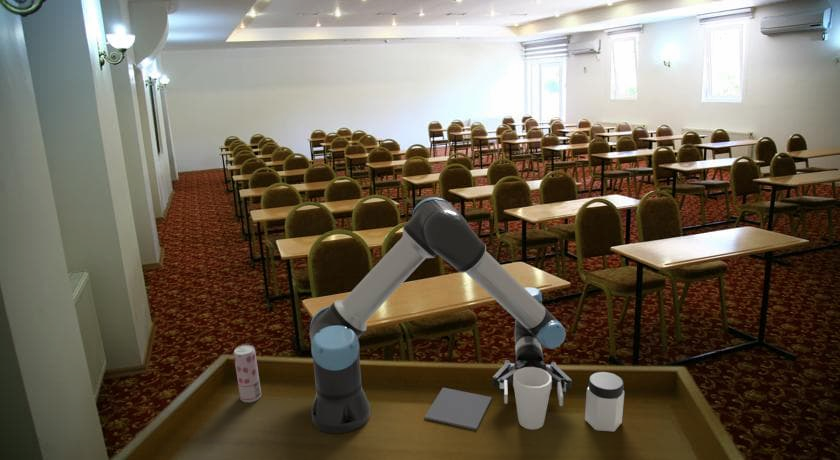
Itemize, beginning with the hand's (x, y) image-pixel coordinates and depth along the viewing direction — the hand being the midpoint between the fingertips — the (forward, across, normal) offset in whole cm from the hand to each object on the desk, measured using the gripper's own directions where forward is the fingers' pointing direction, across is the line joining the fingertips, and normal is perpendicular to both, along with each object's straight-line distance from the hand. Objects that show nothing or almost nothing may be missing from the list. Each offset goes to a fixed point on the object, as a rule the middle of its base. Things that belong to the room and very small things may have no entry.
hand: (533, 400), depth 152 cm
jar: (-2, -18, -7) cm, 19 cm away
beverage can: (-6, +77, -7) cm, 77 cm away
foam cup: (-1, 0, -7) cm, 7 cm away
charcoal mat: (-5, +19, -7) cm, 21 cm away
